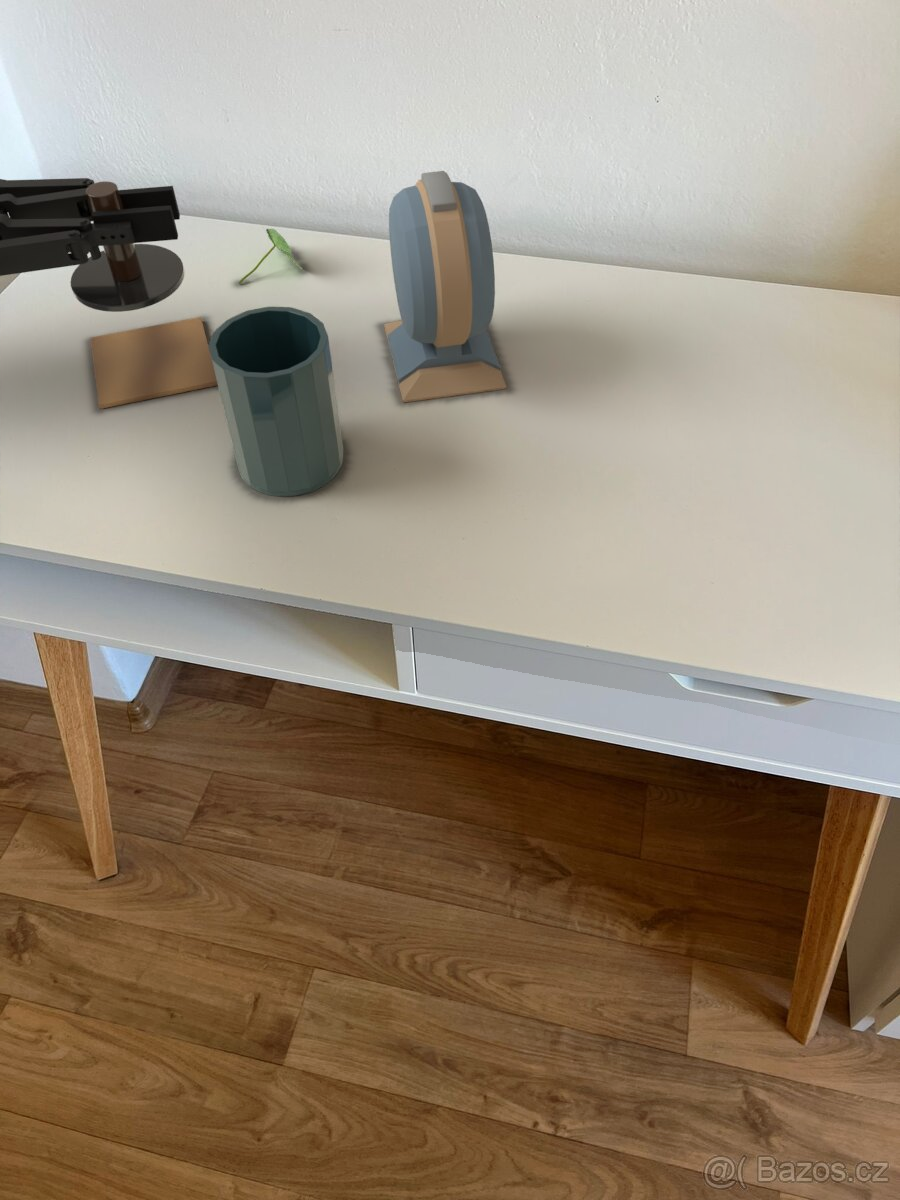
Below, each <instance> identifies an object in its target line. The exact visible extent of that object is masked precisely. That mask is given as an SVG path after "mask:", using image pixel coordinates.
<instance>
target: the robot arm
mask: <svg viewBox="0 0 900 1200" xmlns="http://www.w3.org/2000/svg"><path fill="white" fill-rule="evenodd" d="M94 183H95V181H94V179H91V178H88V177H79V178H74V177H73V178H39V179H3V178H0V277H2V276H10V275H15V274H16V275H17V274H23V273H30V272H37V271H44V270H53V269H58V268H59V269H60V268H65V267H72V266H79V265H80V264H85V263H87V262H88V260H89V259H88V258H89V255H88V254H90V257H92V260H97V259H99V258H100V257H101V250H100V247H103V246H106V245H118V244H129V243H134V244H142V243H152V242H163V241H174V240H175V241H176V240H178V239H179V233H178V229H177V225H176V220H180V218H181V213H180V209H179V205H178V202H177V197H176V193H175V189H174V186H173V185H165V186H151V187H140V188H130V189H129V188H128V189H118V190H119V194H120V197H121V201H122V204H123V208H124V209H120V210H108V211H96V212H92V210H91V207H90V204H89V200H88V197H87V194H86V189H87V188H88V187H89V186H90V185H92V184H94Z"/></svg>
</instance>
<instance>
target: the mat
mask: <svg viewBox="0 0 900 1200" xmlns="http://www.w3.org/2000/svg"><path fill="white" fill-rule="evenodd" d="M208 345H209V342H208V339H207V335H206V332H205V327H204V323H203V319H202V317H201V316H197V317H193V318H187V319H181V320H178V321H177V320H176V321H171V322H166V323H161V324H156V325H150V326H144V327H140V328H134V329H130V330H129V329H128V330H124V331H123V330H122V331H119V332H113V333H108V334H102V335H98V336H92V337H90V346H91V354H92V362H93V369H94V379H95V385H96V395H97V402H98V407H99V409H101V410H103V409H107V408H111V407H116V406H121V405H122V406H123V405H127V404H131V403H136V402H142V401H147V400H152V399H156V398H163V397H166V396H171V395H172V396H173V395H176V394H182V393H186V392H192V391H196V390H201V389H206V388H210V387H216V386H217V387H218V384H217V380H216V376H215V372H214V368H213V364H212V359H211V355H210V351H209V347H208Z"/></svg>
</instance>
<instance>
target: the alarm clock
mask: <svg viewBox="0 0 900 1200" xmlns="http://www.w3.org/2000/svg"><path fill="white" fill-rule="evenodd" d="M420 175H421V176H420V177H421V178H420V179H418V180H417V182H416V183H415V185H412V186H407V187H404V188H402V189H401V190H400V191H398V192H397V193H396V194H395V195H393V197H392V199H391V203H390V206H389V211H388V232H389V246H390V247H389V249H390V258H391V266H392V275H393V281H394V282H393V283H394V288H395V294H396V300H397V305H398V311H399V314H400V319H401V320H397V321H392V322H387V323H384V324H383V327H384V331H385V334H386V338H387V342H388V347H389V351H390V355H391V359H392V362H393V367H394V371H395V375H396V379H397V384H398V387H399V392H400V395H401V399H402V402H403V403H410V402H418V401H425V400H433V399H441V398H446V397H447V398H448V397H454V396H455V397H456V396H462V395H470V394H478V393H483V392H485V393H486V392H493V391H501V390H507V385H506V382H505V379H504V377H503V374H502V370H501V365H500V362H499V359H498V356H497V353H496V351H495V348H494V346H493V342H492V339H491V337H490V334H489V332H488V328H489V327H490V325H491V322H492V319H493V315H494V309H495V301H496V300H495V299H496V298H495V297H496V277H495V259H494V252H493V242H492V236H491V229H490V225H489V221H488V216H487V212H486V209H485V206H484V202H483V201H482V198H481V197H480V195H479V194H478V192H477V190H476V189H475V188H473V187H472V186H470V185H468V184H466V183H464V182H463V181H452V180H451V178H450V176H449V174H448V173H447V172H446V171H445V170H438V171H427V172H422V173H421V174H420Z"/></svg>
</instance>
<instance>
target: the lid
mask: <svg viewBox="0 0 900 1200" xmlns="http://www.w3.org/2000/svg"><path fill="white" fill-rule="evenodd" d="M119 190H120V189H119V187H118V184H116V183H115V182H112V181H106V180H105V181H104V180H103V181H98V182H94V184H92V185H90V186H89V187H88V188H87V189H86V194H87V197H88V200H89V204H90V207H91V210H92V212H96V211H108V210H120V209H124V208H123V204H122V201H121V197H120V194H119ZM102 248H103V250H102V251H101V250H100V252H101V257H100V258H99V259H97V260H92V257H91V256H88V259H89V260H88V262H87V263H85V264H80V265H77V267H76V268H75V269H74V271H73V273H72V274H71V277H70V281H69V282H70V288H71V291H72V294H73V296H74V298H75V299H76V300H77V301H78V302H79V303H80V304H82V305H83V306H85V307H87V308H90V309H93V310H97V311H101V312H109V313H110V312H112V313H119V312H120V313H121V312H129V311H130V312H131V311H135V310H141V309H145V308H148V307H151V306H154V305H156V304H158V303H160V302H162V301H164V300H165V299H167V298H169V297H170V296H171V295H173V294H174V293H175V292H176V291H177V290H178V289H179V288H180V287H181V285H182V283H183V282H184V278H185V275H186V274H185V272H186V271H185V267H184V262H183V261H182V259H181V258H180V256H179V255H178V254H176V252H174V251H172V250H171V249H169V248H166V247H163V246H160V245H156V244H149V243H148V244H147V243H129V244H118V245H106V246H102Z"/></svg>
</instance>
